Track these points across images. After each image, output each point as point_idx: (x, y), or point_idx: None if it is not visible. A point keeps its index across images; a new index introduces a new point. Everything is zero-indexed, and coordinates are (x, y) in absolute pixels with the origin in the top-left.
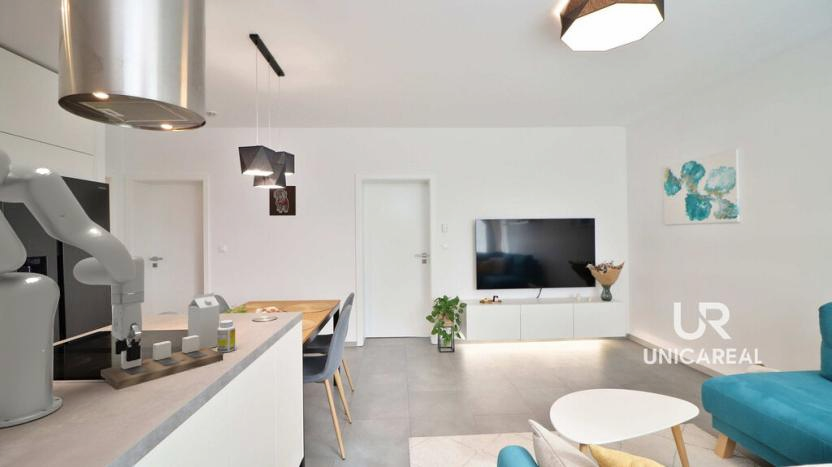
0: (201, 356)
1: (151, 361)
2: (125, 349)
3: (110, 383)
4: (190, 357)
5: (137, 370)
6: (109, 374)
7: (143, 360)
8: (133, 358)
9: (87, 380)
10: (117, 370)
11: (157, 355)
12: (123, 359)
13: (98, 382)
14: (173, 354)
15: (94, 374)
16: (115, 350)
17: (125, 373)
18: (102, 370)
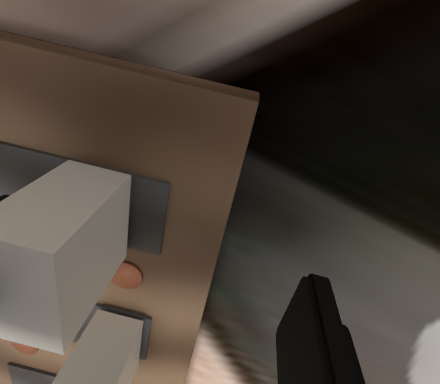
0: (11, 379)
1: (132, 301)
2: (283, 342)
3: (44, 42)
4: (41, 367)
5: (4, 186)
6: (75, 69)
7: (194, 301)
8: None
9: (282, 6)
10: (126, 144)
11: (82, 338)
12: (29, 196)
13: (159, 24)
14: (155, 380)
15: (367, 103)
16: (333, 304)
17: (13, 131)
18: (231, 99)
